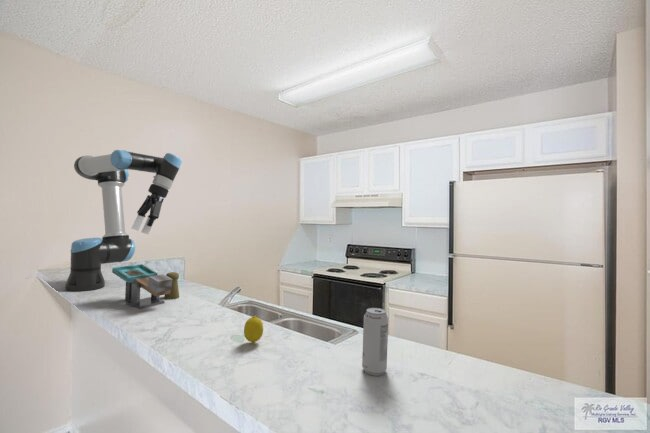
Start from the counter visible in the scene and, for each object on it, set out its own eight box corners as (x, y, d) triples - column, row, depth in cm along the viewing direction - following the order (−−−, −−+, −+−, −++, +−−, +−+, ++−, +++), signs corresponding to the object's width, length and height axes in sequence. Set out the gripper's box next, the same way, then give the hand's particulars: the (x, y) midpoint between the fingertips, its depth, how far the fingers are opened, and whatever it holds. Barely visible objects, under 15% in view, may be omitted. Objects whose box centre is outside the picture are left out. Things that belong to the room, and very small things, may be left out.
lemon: (246, 348, 90) (247, 320, 90) (241, 341, 95) (242, 314, 95) (265, 345, 92) (266, 317, 92) (259, 338, 97) (260, 312, 97)
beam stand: (142, 296, 139) (142, 276, 139) (164, 303, 131) (165, 281, 131) (117, 301, 131) (118, 279, 131) (139, 309, 122) (140, 285, 122)
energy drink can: (367, 363, 83) (369, 305, 83) (389, 369, 80) (391, 309, 80) (358, 372, 78) (360, 311, 78) (381, 379, 75) (383, 315, 75)
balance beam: (140, 272, 142) (143, 257, 141) (176, 294, 128) (179, 278, 127) (111, 276, 132) (113, 260, 131) (147, 300, 118) (149, 283, 117)
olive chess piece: (182, 296, 143) (182, 271, 143) (174, 299, 137) (175, 274, 137) (169, 295, 143) (170, 271, 143) (161, 298, 137) (161, 273, 137)
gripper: (142, 182, 148) (122, 225, 144) (162, 183, 131) (139, 231, 126) (158, 189, 153) (139, 230, 149) (179, 191, 136) (158, 238, 132)
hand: (139, 231), depth 138 cm, fingers open, 13 cm apart
